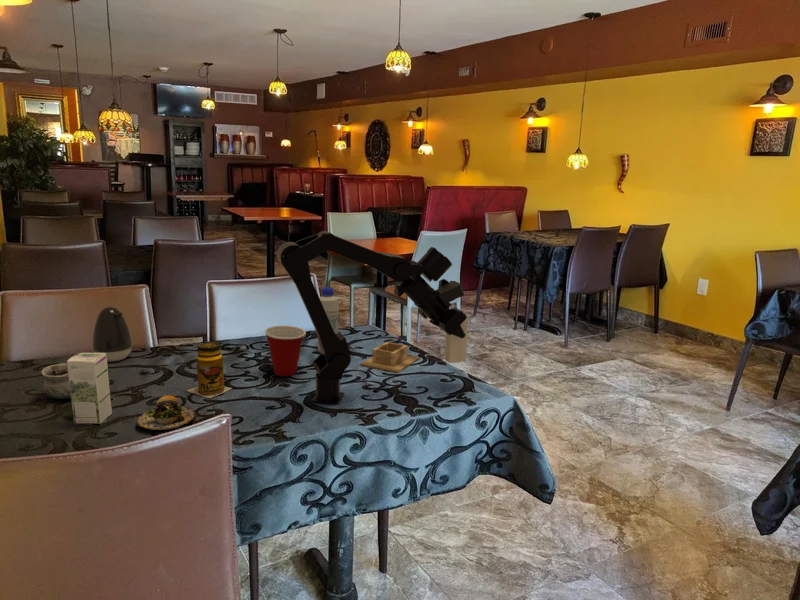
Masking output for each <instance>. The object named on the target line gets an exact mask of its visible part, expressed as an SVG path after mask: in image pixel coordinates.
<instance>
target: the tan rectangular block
mask: <svg viewBox="0 0 800 600" xmlns="http://www.w3.org/2000/svg"><path fill="white" fill-rule="evenodd" d="M465 315H466V316H467V318H466V320H465V321H464V322H463V323H462V324H461V327H462V329H463V331H464V333H465V335H466V336H465V337H464V338H463V339H462V338H460V337H457V336H455V335H452V334H451V335H448V334H447V333H445V343H444V344H445V347H444V348H445V349H444V350H445V351H444V360H445V361H446V362H448V363H449V364H450V363H452V364H453V363H464V362H466V361H467V360H466V359H467V357H466V356H467V343H468V341H467V340H468V324H469V315H467V314H465Z"/></svg>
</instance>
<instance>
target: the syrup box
mask: <svg viewBox="0 0 800 600" xmlns="http://www.w3.org/2000/svg"><path fill="white" fill-rule="evenodd" d="M66 363H67V367H68V375H69V384H70V393H71V398H70V399H71V408H72V409H71V410H72V415H73V416H72V417H73V424H74V423H95V424H96V423H97V424H100V425H102V424H103V423H104V422H105V421H106V420H107V419H106V418H107V417H108V416H110V415H111V414H112V415H113V409H112V404H111V403H112V401H111V391H110V382H109V368H108V362H107V357H106V353H95V352H78V353H76V354H74V355H73V356H71V357H70V358H68V360H66ZM112 415H111V416H112ZM111 416H110V417H111ZM105 419H106V420H105ZM104 420H105V421H104ZM103 421H104V422H103ZM102 422H103V423H102ZM101 423H102V424H101Z"/></svg>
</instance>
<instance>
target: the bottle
mask: <svg viewBox="0 0 800 600" xmlns="http://www.w3.org/2000/svg"><path fill="white" fill-rule="evenodd" d="M319 298H320V301H321V303H322V305H323V308H324V310H325V312H326V314H327V317H328V319H329V321H330V324H331V326H332V328H333V330H334V332H335V334H337V333H338V332H339V314H340V312H339V311H340V304H339V298H338V297H337V296H334V288H332V287H329V286H327V287H323V288H322V290H321V296H319ZM317 350H318V352H319V354H321V350H320V346H319V340H318V339H317Z"/></svg>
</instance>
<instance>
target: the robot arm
mask: <svg viewBox="0 0 800 600" xmlns="http://www.w3.org/2000/svg"><path fill="white" fill-rule="evenodd" d="M328 251H329V252H332V253H335V254H337V255H340V256H343V257H345V258H348V259H350V260H354V261H356V262H358V263H361V264H363V265H366V266H368V267H370V268H371V267H372V268H373V269H375V270H376V271H378V272H380V273H381V274H383V275H385V276H386V277H388V278H389V279H392V280H393V281H395V282H397V283H395V284H394V285H393V286H394V291H393V294H394V295H396V296H397V297H398V298H401V297H402V296H403V295H404V294H405V295H406V296H407V297H408V298H409V299H410V301H412V302H413V304H414V306H415V307H416V308H417V313H418V314H419V315H420V316H421V317H422V318H423V319H425V320H427V319H428V320H429V323H430V324H432V325H434V326H436V327H437V328H439V329H440V330H441V331H442V332H443V333H445V334H446V333H447V334H448V335H451V334H452V335H455V336H457V337H460V338H462V339H463V338H464V337H465V336H466V335H465V333H464V331H463V329H462V327H461V324H462V323H463V322H464V321H465V320H466V318H467V316H468V315H467V314H466V313H465V312H463V311H462V310H461V309H459V308H457V307H455V308H454V307H453V308H452V307H451V305H452V304H451V302H453V301H455V300H457V299H458V298H463V296H465V292H464V290H463V287H462V285H461V283H460V282H458V281H456V280H450V281H448V280H447V279H445V278H442V279H440V278H441V277H442V276H443V275H445V273H446V272H447V271H448V270H449V269H450V268H451V267H452V266H453V263H452V261H451V260H450V259H449V258H448V257H447V256H445V255H444V254H443V253H442V252H440V251H439V250H438V249H437V248H436V247H433V246H430V248H428V250H427V251H426V253H424V255H423V256H422V257H421V258H420V259H419V260H418V261H415V260H413V259H412V260H408V259H406V258H405V257H402V256H400V255H397V254H393V253H388V252H382V251H377V250H376V251H375V250H373V249H370V248H368V247H365V246H362V245H360V244H357V243H354V242H352V241H349V240H347V239H344V238H342V237H339V236H337V235H335V234H333V233H331V232H329V231H326V230H321V231H319V232H318V233H316V234H314V235H311V236H308V237H306V238H302V239H300V240H298V241H297V240H296V241H295V242H293V241H286V242H284V243H282V244H281V245H280V246H279V247H278V249H277V251H276V257H277V260H278V262H279V263H280V265H281V267H282V268H283V269H284V270H285V272H286V273H287V275H288V276H289V278H290V279H291V280H292V282H293V283H294V286H295V288H296V289H297V292H298V294H299V296H300V299H301V300H302V303H303V306H304V308H305V310H306V312H307V313H308V314H307V315H308V317H309V318H310V321H311V323H312V325H313V327H314V330H315V332H316V335H317V341H318V340H319V346H320V350H321V353H319V355H318V356H317V357H316V358H315V359H314V360H313V361H312V365H313V368H314V370H315V372H316V373H315V395H314V396H313V397H312V399H311V401H310V402H311V403H315V404H316V403H319V404H328V405H338V404H339V403H340V401H341V400H342V398H343V397H344V396H345V392H342V391H340V390H341V387H340V386H341V380H342V378H343V375H344V373H345V370H346V369H347V368H348V367H349V366H350V364H351V362H352V357H351V354H353V352H352V351H351V349H350V348H349V346H348V341H347V339H346V337H345V336H344V335H343V333H341V331H338V333H337V334H335V332H334V330H333V328H332V326H331V324H330V321H329V319H328V317H327V314H326V312H325V310H324V308H323V305H322V303H321V301H320V298H319V297H320V296H319V295H318V292H317V289H316V287H315V285H314V283H313V279H312V275H311V270H310V269H311V268H310V264H309V262H310V261H312V260H314V259H316V258H317V257H320V255H323V254H324V253H326V252H328ZM422 276H423V277H422ZM425 279H426V280H425ZM439 279H440V280H439ZM427 281H428V282H430V283H431V282H432V281H434V282H437V281H438V286H437V289H434V288H433V287H432V286H431V285H430V284H429V283H428V282H427ZM450 307H451V308H450ZM466 315H467V316H466Z"/></svg>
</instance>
